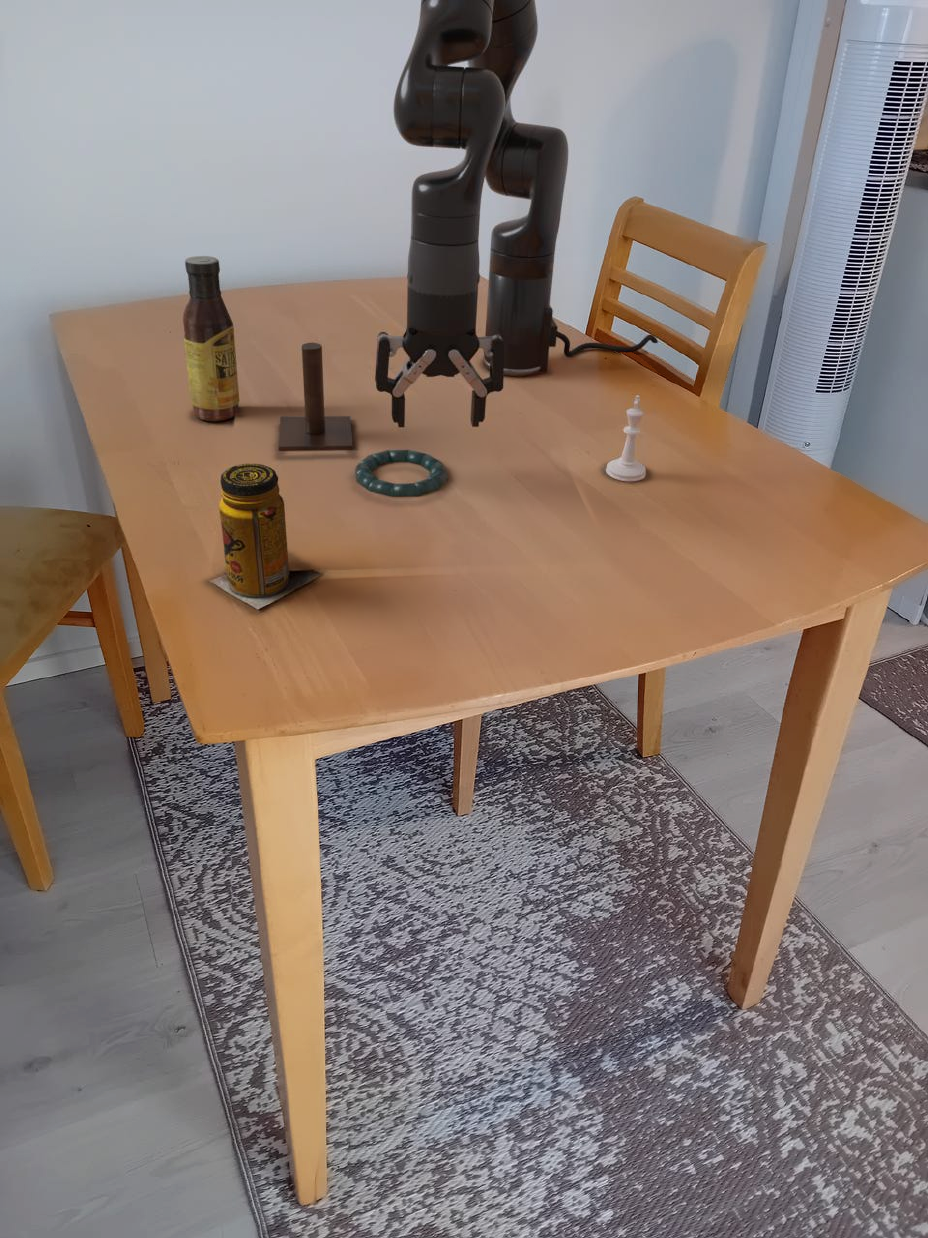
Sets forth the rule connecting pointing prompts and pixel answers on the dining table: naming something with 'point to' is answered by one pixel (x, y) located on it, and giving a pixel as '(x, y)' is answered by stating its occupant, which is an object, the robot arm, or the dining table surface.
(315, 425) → the peg stand
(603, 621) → the dining table surface
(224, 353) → the sauce bottle
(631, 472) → the chess piece
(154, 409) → the dining table surface
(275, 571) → the condiment
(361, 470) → the ring
